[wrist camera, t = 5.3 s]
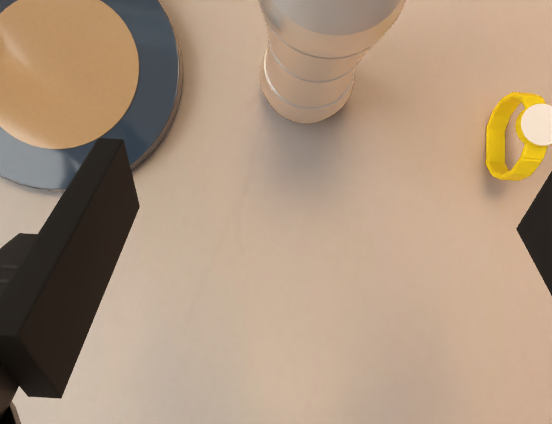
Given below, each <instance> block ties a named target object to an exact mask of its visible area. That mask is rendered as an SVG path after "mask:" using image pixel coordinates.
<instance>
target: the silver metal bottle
mask: <svg viewBox="0 0 552 424" xmlns="http://www.w3.org/2000/svg"><path fill="white" fill-rule="evenodd" d="M258 1H259V4H260V7H261V10H262V13H263V16H264V19H265V22H266V25H267V29H268V37H269V42H268V47H267V49H266V51H265V54H264V57H263V60H262V64H261V67H260V83H261V87H262V90H263V93H264V95H265V97H266V98H267V100H268V102H269V103H270V105H271V106H272V107H273V108H274V109H275V111H276V112H278V113H279V114H280V115H281V116H283V117H285V118H287V119H289V120H291V121H294V122H298V123H315V122H318V121H322V120H324V119H326V118H328V117H330V116H332V115H334V114H335V113H336V112H338V111H339V110H340V109H341V108H342V107H343V106H344V104H345V103H346V102H347V100H348V98H349V96H350V94H351V91H352V87H353V83H354V77H355V68H356V65H357V63H358V62H359V60H360V59H361V58H362V56H363V55H364V54H365V53H366V52H367V51H368V50H369V49H370V48H371V47H372V46H373V45H374V44H375V43H376V42H377V41H379V40H380V39H381V38H382V37H383V35H384V34H385V33H386V32H387V31H388V30H389V28H390V27H391V26H392V25H393V23H394V22H395V21H396V20H397V18H398V16H399V14H400V13H401V11H402V9H403V7H404V4H405V0H258Z"/></svg>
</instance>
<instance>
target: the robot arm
mask: <svg viewBox="0 0 552 424" xmlns="http://www.w3.org/2000/svg"><path fill="white" fill-rule="evenodd" d="M139 207H140V206H139V202H138V197H137V193H136V189H135V185H134V181H133V176H132V172H131V168H130V164H129V160H128V155H127V151H126V147H125V143H124V139H110V138H98V139H97V141H96V142H95V144H94V146H93V147H92V149H91V150H90V152H89V154H88V155H87V157H86V158H85V160H84V162H83V163H82V165H81V166H80V168H79V170H78V171H77V173H76V174H75V176H74V178H73V179H72V181H71V182H70V184H69V186H68V187H67V189H66V190H65V192H64V194H63V195H62V197H61V198H60V200H59V201H58V203H57V205H56V206H55V208H54V209H53V211H52V213H51V214H50V216H49V217H48V219H47V221H46V222H45V224H44V225H43V227H42V229H41V230H40V232H39V233H38V234H23V233H19V234H18V235H17V236H15V237H14V238H13V239H12V240H10V241H9V242H8V243H7V244H5V245H4V246H3V247H1V249H0V424H21V422H20V419H19V416H18V413H17V410H16V407H15V405H14V404H13V402H12V399H13V397H14V395H15V393H16V391H17V389H18V387H19V386H20V387H21V388H22V390H23V391H24V392H25V393H26V394H27V396H29V397H46V398H62V395H63V393H64V390H65V388H66V385H67V383H68V380H69V378H70V376H71V373H72V371H73V368H74V366H75V363H76V361H77V358H78V356H79V354H80V351H81V349H82V346H83V344H84V341H85V339H86V336H87V334H88V332H89V329H90V327H91V324H92V322H93V319H94V317H95V314H96V312H97V310H98V307H99V305H100V302H101V300H102V297H103V295H104V293H105V290H106V288H107V285H108V283H109V280H110V278H111V275H112V273H113V271H114V268H115V266H116V263H117V261H118V258H119V256H120V253H121V251H122V249H123V246H124V244H125V241H126V239H127V236H128V234H129V231H130V229H131V227H132V224H133V222H134V219H135V217H136V214H137V212H138V209H139ZM516 229H517V231H518V233H519V235H520V237H521V239H522V241H523V242H524V244H525V246H526V248H527V250H528V252H529V254H530V256H531V257H532V259H533V261H534V263H535V265H536V267H537V269H538V271H539V272H540V274H541V276H542V278H543V280H544V282H545V284H546V286H547V287H548V289H549V291H550V293H551V295H552V172H551V173H550V175H549V177H548V178H547V180H546V181H545V183H544V185H543V186H542V188H541V190H540V191H539V193H538V194H537V196H536V198H535V199H534V201H533V202H532V204H531V206H530V207H529V209H528V211H527V212H526V214H525V215H524V217H523V219H522V220H521V222H520V224H519V225H518V227H517V228H516Z"/></svg>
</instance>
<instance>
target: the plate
mask: <svg viewBox="0 0 552 424" xmlns="http://www.w3.org/2000/svg"><path fill="white" fill-rule="evenodd" d="M182 83H183V65H182V57H181V51H180V47H179V43H178V40H177V36H176V34H175V31H174V29H173V27H172V24H171V22H170V20H169V18H168V16H167V15H166V13H165V11H164V9H163V8H162V6H161V4H160V3H159V1H158V0H0V176H2V177H3V178H5V179H8V180H10V181H13V182H15V183H18V184H21V185H25V186H29V187H33V188H38V189H45V190H53V191H65V190H66V189H67V187H68V186H69V184H70V182H71V181H72V179H73V178H74V176H75V174H76V173H77V171H78V170H79V168H80V166H81V165H82V163H83V162H84V160H85V158H86V157H87V155H88V154H89V152H90V150H91V149H92V147H93V146H94V144H95V142H96V141H97V139H98V138H110V139H124V143H125V147H126V151H127V155H128V160H129V164H130V168H131V170H132V169H134V168H135V167H136V166H138V165H139V164H140V163H142V162H143V161H144V160H145V159H146V158H147V157H148V156H149V155H150V154H151V153H152V152H153V151H154V150H155V148H156V147H157V146H158V144H159V143H160V142H161V141H162V139H163V138H164V136H165V134H166V133H167V131H168V129H169V128H170V126H171V124H172V121H173V119H174V116H175V114H176V112H177V108H178V105H179V101H180V97H181V91H182Z"/></svg>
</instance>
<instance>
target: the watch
mask: <svg viewBox="0 0 552 424" xmlns="http://www.w3.org/2000/svg"><path fill="white" fill-rule="evenodd" d="M520 103H523V105H524V107H525V109H524V110H523V111H522V112H521V113H520V114H519V116H518V117H517V119H516V124H515V127H516V133H517V135H518V137H519V139H520V140H521V141H522V142H523V143H524V144H525V145H524V148H523V151H522V154H521V157H520V158H519V160H518V161H517V163H516V164H515V166H514V167H513V168H512V170H510V171H509V170H508V168H507V166H506V164H505V130H506V127H507V124H508V122H509V119H510V117H511V115H512V113H513V112H514V111H515V109H516V108H517V107H518V105H519V104H520ZM492 112H493V113H491V116H490V119H489V122H488V125H487V127H486V161H485V164H486V166H487V168H488V169H489V171H490V173H491V175H492V176H494V177H496V178H498V179H501V180H515V181H520V180H522V179H524V178H526V177H529V176H530V175H531V174H533V172H534V171H535V170H536V168H537V167H538V166H539V165H540V163H541V162H542V159H544V156H545V153H546V150H547V147H548V145H551V144H552V106H551V105H548V104H546V103H545V101H544V99H543V98H542V97H541V96H538V95H535V94H532V93H520V92H512V93H510V94H509V95H507V96H505V97H503V98H502V99H501V100H500V101H499V103H498V104H497V106H496V107H495V109H494V110H493V111H492Z"/></svg>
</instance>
